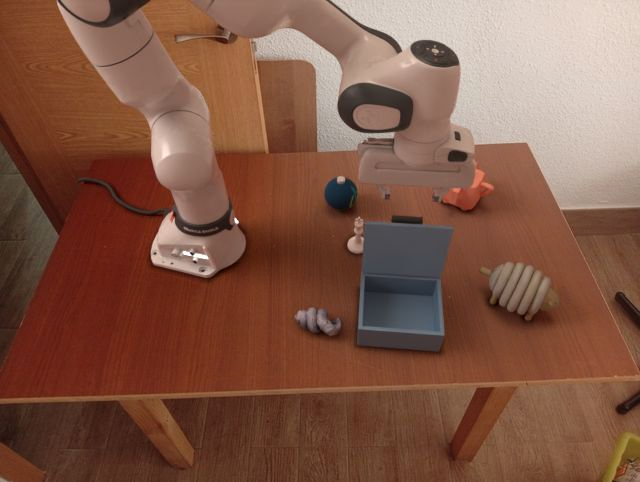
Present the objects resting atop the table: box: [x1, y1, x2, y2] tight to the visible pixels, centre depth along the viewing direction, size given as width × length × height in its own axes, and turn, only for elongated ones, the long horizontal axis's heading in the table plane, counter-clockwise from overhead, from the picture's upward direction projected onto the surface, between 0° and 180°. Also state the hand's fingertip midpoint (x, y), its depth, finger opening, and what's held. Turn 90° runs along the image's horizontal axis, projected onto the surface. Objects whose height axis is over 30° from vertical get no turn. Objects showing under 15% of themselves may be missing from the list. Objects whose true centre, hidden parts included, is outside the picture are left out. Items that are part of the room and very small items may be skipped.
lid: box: [360, 214, 455, 279], centre depth 98 cm, size 14×17×5 cm
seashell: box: [293, 306, 342, 337], centre depth 100 cm, size 5×5×10 cm
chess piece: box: [346, 216, 364, 254], centre depth 112 cm, size 5×5×10 cm
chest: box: [356, 272, 446, 353], centre depth 100 cm, size 14×17×7 cm
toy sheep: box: [478, 261, 561, 322], centre depth 100 cm, size 11×17×11 cm, turn 61°
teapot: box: [441, 160, 495, 211], centre depth 121 cm, size 12×12×10 cm
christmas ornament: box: [323, 175, 359, 211], centre depth 120 cm, size 8×8×10 cm
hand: (410, 198), depth 91 cm, fingers open, 8 cm apart
